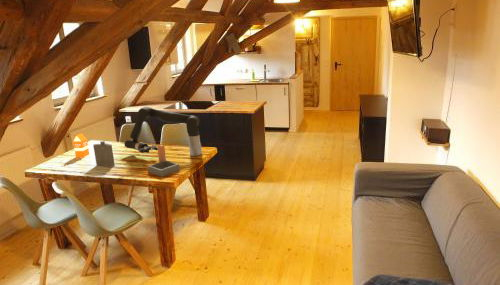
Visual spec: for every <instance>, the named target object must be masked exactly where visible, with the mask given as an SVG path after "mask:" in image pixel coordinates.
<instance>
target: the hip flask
mask: <svg viewBox="0 0 500 285" xmlns="http://www.w3.org/2000/svg"><path fill="white" fill-rule="evenodd" d="M92 147H93V151H94V157H95V163H96V167H111V168H113V167H115V156H114V153H113V145H112V144H110V143H106V141H104V140H102V141H100V142H99V143H95V144H93V146H92Z"/></svg>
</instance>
